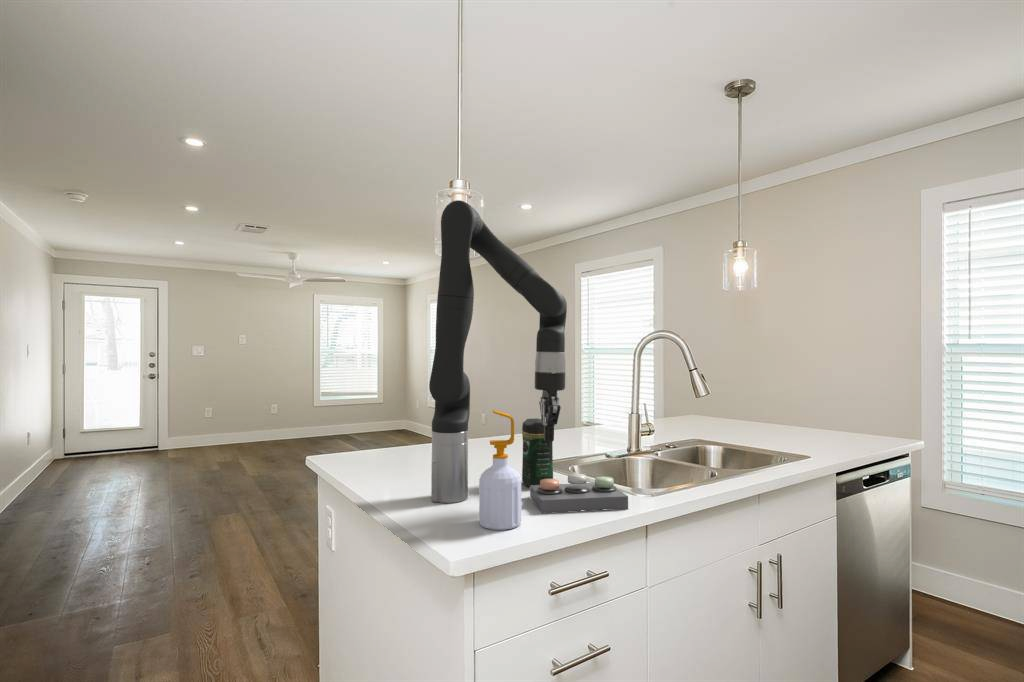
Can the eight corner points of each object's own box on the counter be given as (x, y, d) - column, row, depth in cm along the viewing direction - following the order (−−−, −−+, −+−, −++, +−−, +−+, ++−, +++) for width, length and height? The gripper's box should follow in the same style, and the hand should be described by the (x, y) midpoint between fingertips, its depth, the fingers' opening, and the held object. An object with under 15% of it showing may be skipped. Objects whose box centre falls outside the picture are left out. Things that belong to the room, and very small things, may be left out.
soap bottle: (478, 518, 118) (479, 408, 119) (519, 517, 119) (519, 408, 120) (479, 531, 109) (480, 412, 110) (523, 530, 110) (523, 412, 111)
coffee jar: (557, 488, 145) (557, 420, 145) (530, 490, 142) (530, 421, 143) (544, 480, 154) (544, 416, 154) (518, 482, 151) (518, 417, 152)
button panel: (541, 513, 122) (541, 498, 122) (530, 497, 135) (530, 483, 136) (628, 509, 125) (628, 494, 125) (608, 493, 139) (608, 480, 139)
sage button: (598, 487, 129) (598, 481, 129) (592, 483, 133) (592, 476, 133) (616, 487, 130) (616, 480, 130) (609, 482, 134) (609, 476, 134)
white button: (570, 484, 128) (570, 478, 128) (565, 480, 132) (565, 473, 132) (588, 483, 128) (588, 477, 128) (583, 479, 133) (583, 473, 133)
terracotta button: (542, 490, 127) (542, 483, 127) (538, 485, 131) (538, 479, 131) (561, 489, 127) (561, 482, 127) (556, 484, 132) (556, 478, 132)
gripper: (530, 369, 136) (528, 436, 135) (540, 371, 123) (539, 445, 122) (558, 369, 137) (557, 436, 137) (572, 371, 124) (570, 445, 124)
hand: (548, 440), depth 129 cm, fingers closed
